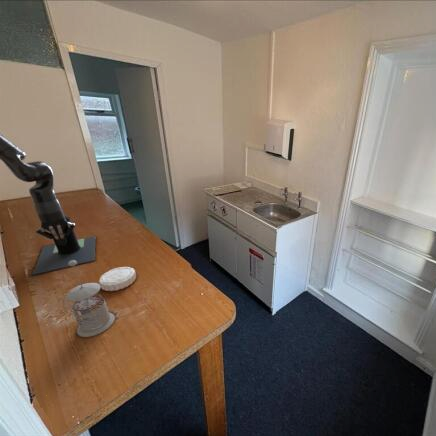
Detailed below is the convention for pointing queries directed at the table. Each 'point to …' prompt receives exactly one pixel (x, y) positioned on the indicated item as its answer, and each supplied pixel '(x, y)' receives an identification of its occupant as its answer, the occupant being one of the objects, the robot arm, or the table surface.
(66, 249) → the aerosol can
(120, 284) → the mooncake
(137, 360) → the table surface
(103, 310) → the french press
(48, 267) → the board
